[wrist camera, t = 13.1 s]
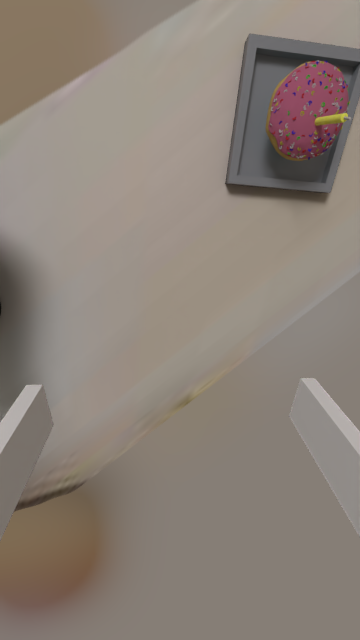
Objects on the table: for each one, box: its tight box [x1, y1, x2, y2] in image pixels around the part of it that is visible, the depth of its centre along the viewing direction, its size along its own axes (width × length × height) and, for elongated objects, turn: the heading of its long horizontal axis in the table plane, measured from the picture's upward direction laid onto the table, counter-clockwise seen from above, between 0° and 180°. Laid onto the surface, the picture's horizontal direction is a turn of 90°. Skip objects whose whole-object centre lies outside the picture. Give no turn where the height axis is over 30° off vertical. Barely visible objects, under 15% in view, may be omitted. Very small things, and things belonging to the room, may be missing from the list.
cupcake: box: [266, 60, 351, 161], centre depth 26 cm, size 9×8×12 cm
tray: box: [225, 34, 360, 193], centre depth 31 cm, size 14×14×2 cm
